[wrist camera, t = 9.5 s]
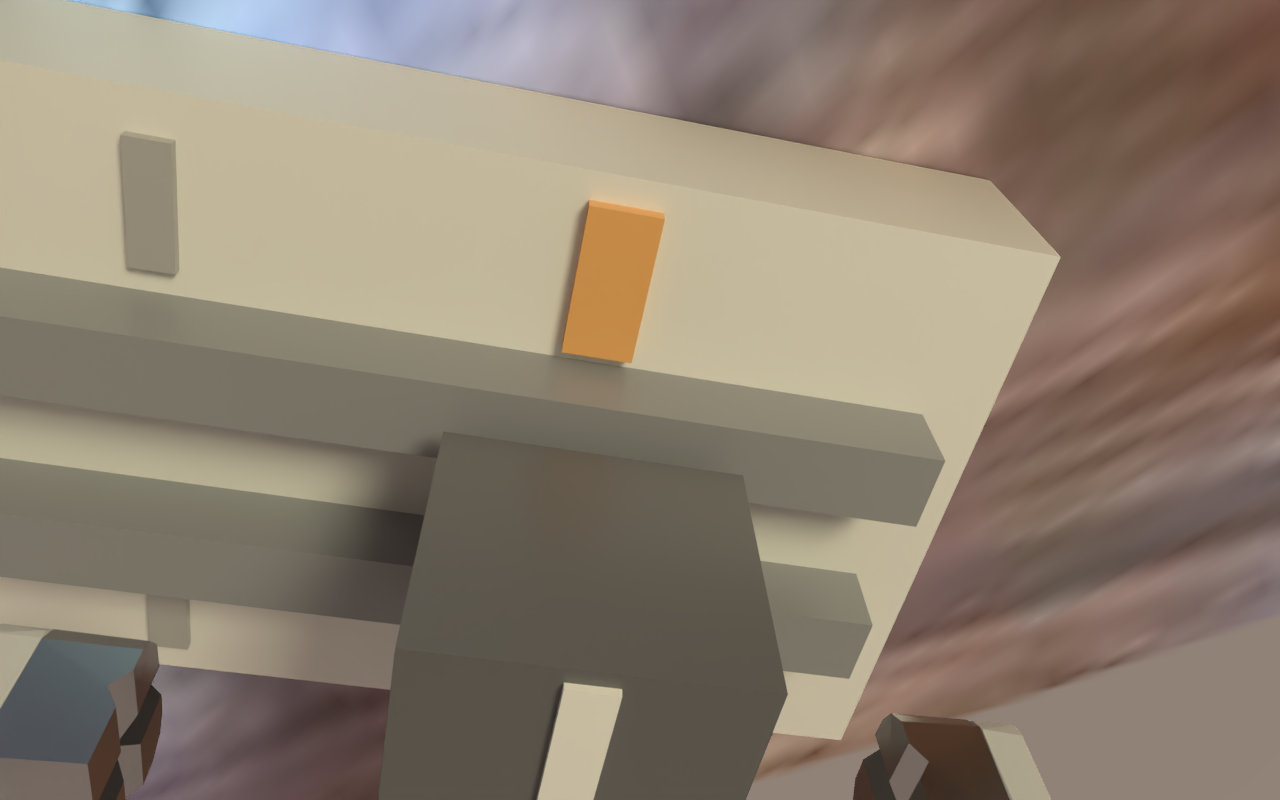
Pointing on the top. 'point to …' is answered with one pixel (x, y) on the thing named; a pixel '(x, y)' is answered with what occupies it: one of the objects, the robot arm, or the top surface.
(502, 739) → the fader tab
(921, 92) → the top surface
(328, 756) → the top surface
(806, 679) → the fader console
